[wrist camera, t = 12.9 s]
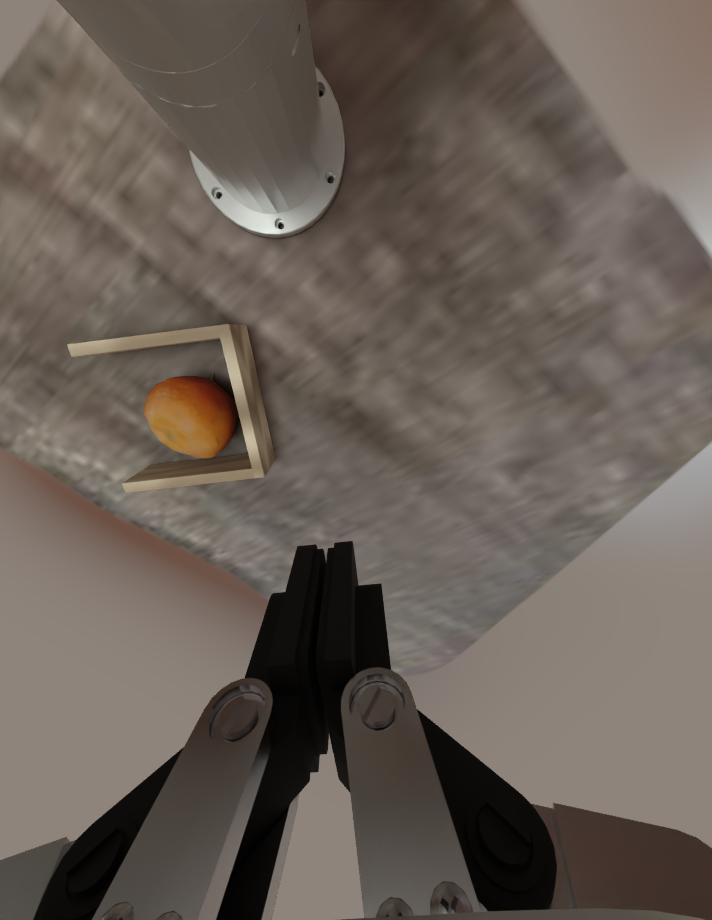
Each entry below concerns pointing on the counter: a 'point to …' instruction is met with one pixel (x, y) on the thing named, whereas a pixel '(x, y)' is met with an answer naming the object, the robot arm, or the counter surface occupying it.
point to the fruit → (191, 415)
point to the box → (245, 397)
